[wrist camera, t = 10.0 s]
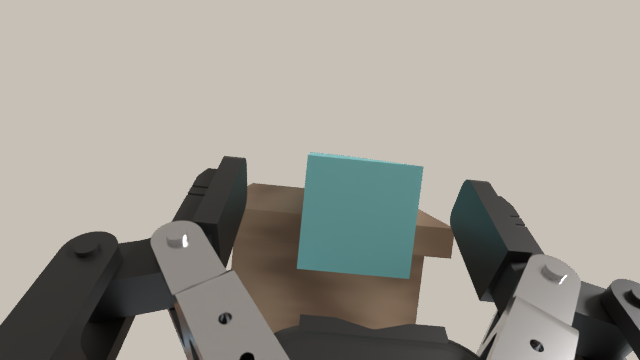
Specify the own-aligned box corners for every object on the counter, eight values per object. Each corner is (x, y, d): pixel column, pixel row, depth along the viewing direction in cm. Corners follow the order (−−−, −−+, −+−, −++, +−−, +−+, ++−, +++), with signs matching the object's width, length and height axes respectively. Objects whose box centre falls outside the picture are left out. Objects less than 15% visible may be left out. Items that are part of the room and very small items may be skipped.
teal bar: (296, 268, 9) (308, 155, 9) (308, 184, 33) (311, 152, 33) (409, 279, 9) (423, 166, 9) (339, 187, 33) (343, 155, 33)
